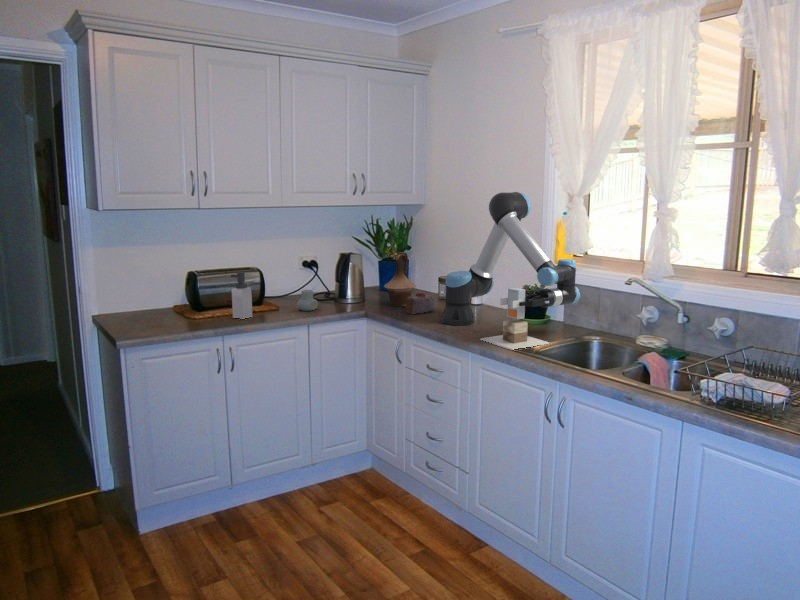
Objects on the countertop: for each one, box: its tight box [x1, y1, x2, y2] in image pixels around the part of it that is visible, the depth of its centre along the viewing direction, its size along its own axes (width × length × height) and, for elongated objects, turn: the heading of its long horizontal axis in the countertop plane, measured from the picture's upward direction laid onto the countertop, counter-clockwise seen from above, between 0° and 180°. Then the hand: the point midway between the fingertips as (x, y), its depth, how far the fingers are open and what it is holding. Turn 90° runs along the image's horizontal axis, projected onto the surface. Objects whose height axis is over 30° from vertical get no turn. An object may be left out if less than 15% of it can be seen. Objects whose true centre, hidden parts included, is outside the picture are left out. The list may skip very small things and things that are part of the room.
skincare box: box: [506, 287, 526, 320], centre depth 259 cm, size 6×4×12 cm
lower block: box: [502, 330, 528, 343], centre depth 262 cm, size 7×7×4 cm
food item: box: [405, 292, 435, 315], centre depth 320 cm, size 14×8×10 cm, turn 129°
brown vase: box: [383, 251, 417, 307], centre depth 337 cm, size 18×17×28 cm
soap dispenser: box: [230, 271, 253, 320], centre depth 305 cm, size 6×9×22 cm
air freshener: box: [296, 289, 319, 312], centre depth 325 cm, size 11×8×10 cm
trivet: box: [480, 334, 550, 351], centre depth 262 cm, size 20×20×1 cm
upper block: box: [502, 318, 529, 334], centre depth 261 cm, size 7×7×4 cm
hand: (506, 303), depth 257 cm, fingers closed on skincare box, 6 cm apart
